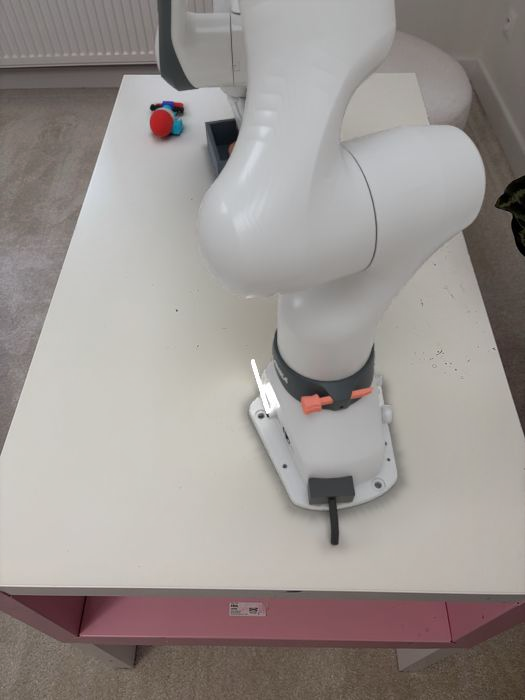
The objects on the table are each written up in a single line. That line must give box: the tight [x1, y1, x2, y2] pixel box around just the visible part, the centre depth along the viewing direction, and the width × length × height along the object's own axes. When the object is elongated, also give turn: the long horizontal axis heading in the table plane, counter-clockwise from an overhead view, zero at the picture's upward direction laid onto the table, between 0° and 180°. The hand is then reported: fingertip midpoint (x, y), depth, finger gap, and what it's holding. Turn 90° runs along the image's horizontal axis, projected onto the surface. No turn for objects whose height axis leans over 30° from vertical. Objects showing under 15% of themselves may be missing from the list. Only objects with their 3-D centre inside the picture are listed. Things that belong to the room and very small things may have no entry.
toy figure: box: [149, 100, 185, 138], centre depth 109 cm, size 8×5×15 cm
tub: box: [204, 117, 239, 179], centre depth 101 cm, size 14×14×6 cm
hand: (247, 146), depth 100 cm, fingers open, 8 cm apart
